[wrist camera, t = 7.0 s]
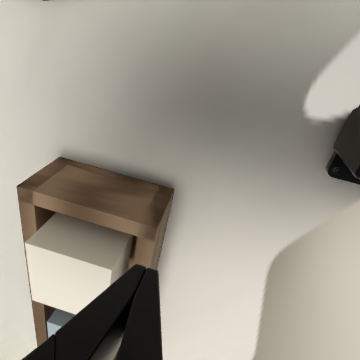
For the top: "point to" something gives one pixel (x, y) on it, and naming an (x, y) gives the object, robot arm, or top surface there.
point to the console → (94, 212)
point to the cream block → (74, 261)
